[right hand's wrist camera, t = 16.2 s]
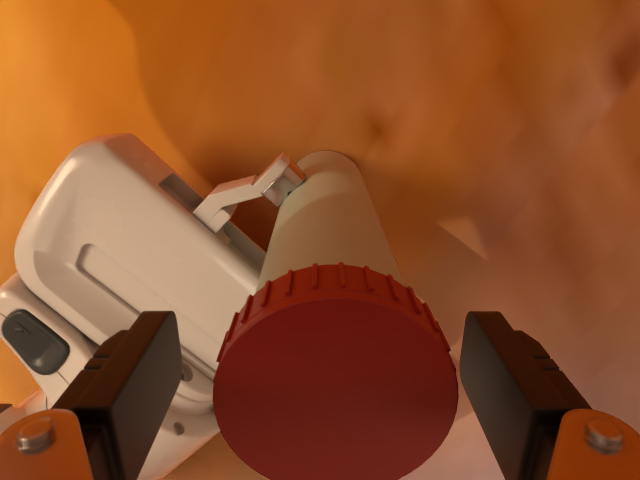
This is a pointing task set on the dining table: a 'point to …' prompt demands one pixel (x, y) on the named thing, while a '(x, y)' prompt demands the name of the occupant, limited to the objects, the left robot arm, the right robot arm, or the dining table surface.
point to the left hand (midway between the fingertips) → (339, 209)
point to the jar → (328, 222)
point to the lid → (334, 377)
